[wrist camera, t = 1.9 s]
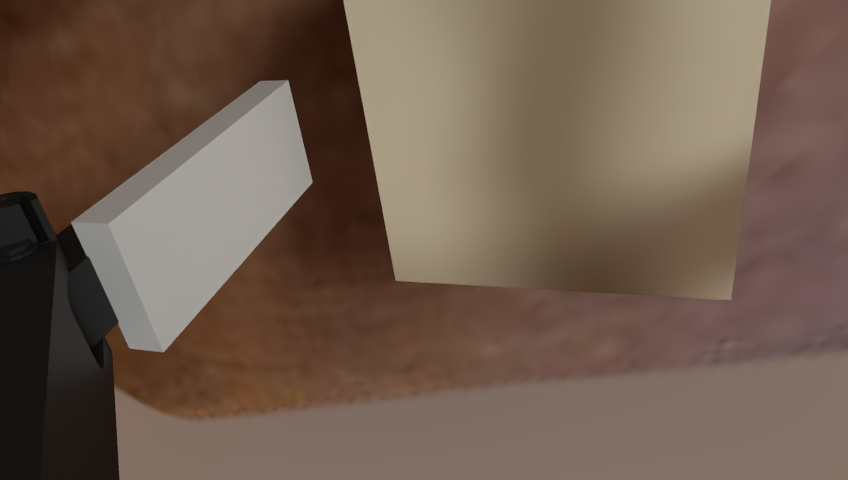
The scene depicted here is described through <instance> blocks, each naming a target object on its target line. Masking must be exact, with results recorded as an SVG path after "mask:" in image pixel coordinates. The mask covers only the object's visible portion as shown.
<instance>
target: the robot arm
mask: <svg viewBox="0 0 848 480" xmlns="http://www.w3.org/2000/svg"><path fill="white" fill-rule="evenodd" d="M312 183H313V181H312V177H311V173H310V169H309V165H308V160H307V156H306V152H305V148H304V144H303V140H302V135H301V131H300V127H299V123H298V119H297V115H296V110H295V106H294V102H293V98H292V94H291V90H290V85H289V81H288V80H277V81H259V82H258V83H257V84H255V85H254V86H253V87H251V88H250V89H249V90H247V91H246V92H245V93H243V94H242V95H241V96H239V97H238V98H237V99H235V100H234V101H233V102H231V103H230V104H229V105H227V106H226V107H225V108H223V109H222V110H221V111H219V112H218V113H217V114H215V115H214V116H213V117H211V118H210V119H209V120H207V121H206V122H204V123H203V124H202V125H200V126H199V127H198V128H196V129H195V130H194V131H192V132H191V133H190V134H188V135H187V136H186V137H184V138H183V139H182V140H180V141H179V142H178V143H176V144H175V145H174V146H172V147H171V148H170V149H168V150H167V151H166V152H164V153H163V154H162V155H160V156H159V157H158V158H156V159H155V160H154V161H152V162H151V163H150V164H148V165H147V166H146V167H144V168H143V169H141V170H140V171H139V172H137V173H136V174H135V175H133V176H132V177H131V178H129V179H128V180H127V181H125V182H124V183H123V184H121V185H120V186H119V187H117V188H116V189H115V190H113V191H112V192H111V193H109V194H108V195H107V196H105V197H104V198H103V199H101V200H100V201H99V202H97V203H96V204H95V205H93V206H92V207H91V208H89V209H88V210H87V211H85V212H84V213H83V214H81V215H80V216H78V217H77V218H76V219H74V220H73V221H72V222H71V225H70V226H68V227H67V228H66V229H64V230H63V231H62V232H60V233H59V234H58V235H55V233H54V231H53V229H52V227H51V225H50V223H49V221H48V219H47V217H46V214H45V212H44V210H43V208H42V206H41V204H40V202H39V200H38V198H37V196H36V194H35V193H31V192H28V191H26V192H12V193H7V194H2V195H0V480H119V465H118V449H117V448H118V447H117V430H116V413H115V394H114V377H113V359H112V351H111V349H110V347H109V345H108V343H107V341H106V339H105V337H104V336H105V335H106V334H107V333H108V332H109V331H110V330H111V329H112V328H113V327H114V326H115V325H116V324H117V323H118V325H119V327H120V329H121V331H122V333H123V336H124V338H125V340H126V342H127V344H128V346H129V348H130V349H138V350H147V351H156V352H164V351H165V350H166V349H167V348H168V347H169V346H170V345H171V343H172V342H173V341H174V340H175V339H176V338H177V337H178V335H179V334H180V333H181V332H182V331H183V330H184V329H185V328H186V326H187V325H188V324H189V323H190V322H191V321H192V320H193V318H194V317H195V316H196V315H197V314H198V313H199V312H200V310H201V309H202V308H203V307H204V306H205V305H206V304H207V302H208V301H209V300H210V299H211V298H212V297H213V296H214V294H215V293H216V292H217V291H218V290H219V289H220V288H221V286H222V285H223V284H224V283H225V282H226V281H227V280H228V278H229V277H230V276H231V275H232V274H233V273H234V272H235V270H236V269H237V268H238V267H239V266H240V265H241V264H242V263H243V261H244V260H245V259H246V258H247V257H248V256H249V255H250V253H251V252H252V251H253V250H254V249H255V248H256V247H257V245H258V244H259V243H260V242H261V241H262V240H263V239H264V237H265V236H266V235H267V234H268V233H269V232H270V231H271V229H272V228H273V227H274V226H275V225H276V224H277V223H278V221H279V220H280V219H281V218H282V217H283V216H284V215H285V213H286V212H287V211H288V210H289V209H290V208H291V207H292V205H293V204H294V203H295V202H296V201H297V200H298V199H299V197H300V196H301V195H302V194H303V193H304V192H305V191H306V190H307V188H308V187H309V186H310V185H311V184H312Z"/></svg>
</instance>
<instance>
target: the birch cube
mask: <svg viewBox="0 0 848 480" xmlns="http://www.w3.org/2000/svg"><path fill="white" fill-rule="evenodd" d="M343 2H344V7H345V12H346V18H347V23H348V28H349V34H350V39H351V44H352V50H353V55H354V61H355V66H356V71H357V77H358V82H359V87H360V93H361V98H362V103H363V109H364V114H365V119H366V125H367V130H368V136H369V141H370V146H371V152H372V157H373V162H374V168H375V173H376V178H377V184H378V189H379V195H380V200H381V205H382V211H383V216H384V221H385V227H386V232H387V237H388V243H389V248H390V253H391V259H392V264H393V270H394V275H395V280H396V281H407V282H424V283H442V284H459V285H476V286H494V287H511V288H529V289H546V290H564V291H581V292H599V293H616V294H633V295H651V296H668V297H686V298H703V299H721V300H731V296H732V289H733V281H734V274H735V266H736V259H737V251H738V244H739V236H740V229H741V221H742V214H743V206H744V199H745V191H746V184H747V176H748V169H749V161H750V154H751V146H752V139H753V131H754V124H755V116H756V109H757V101H758V94H759V86H760V79H761V71H762V64H763V56H764V49H765V41H766V34H767V26H768V19H769V11H770V4H771V0H343Z"/></svg>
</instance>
